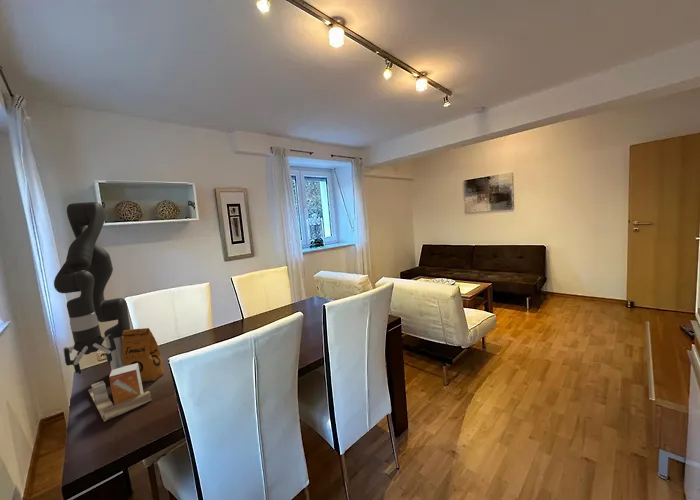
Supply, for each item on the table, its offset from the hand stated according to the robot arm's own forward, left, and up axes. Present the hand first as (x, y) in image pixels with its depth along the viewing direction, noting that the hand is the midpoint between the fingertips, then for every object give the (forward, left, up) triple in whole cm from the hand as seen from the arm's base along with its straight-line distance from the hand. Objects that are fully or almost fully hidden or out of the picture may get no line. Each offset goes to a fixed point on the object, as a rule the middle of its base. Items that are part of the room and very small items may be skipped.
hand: (94, 367), depth 114 cm
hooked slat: (+1, +5, -14) cm, 14 cm away
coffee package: (-5, +16, -14) cm, 22 cm away
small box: (+10, +7, -14) cm, 19 cm away
